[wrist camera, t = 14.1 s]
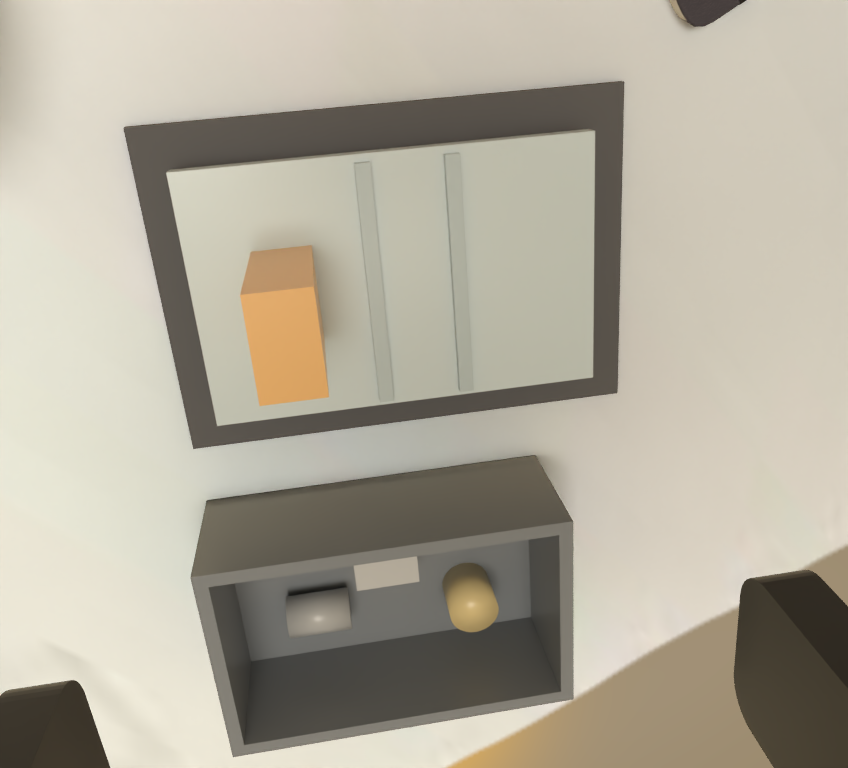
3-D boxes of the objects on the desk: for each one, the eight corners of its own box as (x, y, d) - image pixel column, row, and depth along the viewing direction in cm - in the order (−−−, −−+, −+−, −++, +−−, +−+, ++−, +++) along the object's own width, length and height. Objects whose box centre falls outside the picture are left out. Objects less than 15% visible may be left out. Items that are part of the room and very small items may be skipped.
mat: (620, 81, 33) (623, 81, 33) (614, 389, 39) (617, 392, 38) (125, 126, 31) (123, 127, 31) (194, 444, 37) (193, 448, 36)
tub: (535, 455, 39) (572, 521, 34) (539, 617, 43) (573, 699, 38) (206, 500, 38) (190, 577, 32) (241, 664, 42) (233, 757, 36)
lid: (580, 126, 33) (657, 148, 26) (580, 362, 37) (646, 437, 30) (173, 166, 31) (135, 201, 24) (221, 408, 36) (200, 498, 29)
